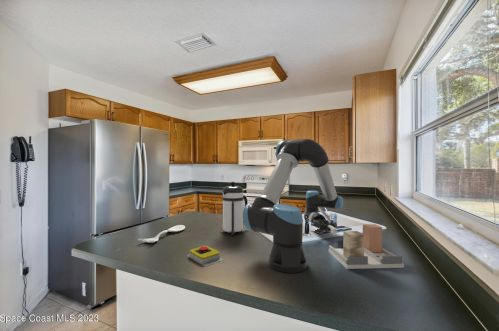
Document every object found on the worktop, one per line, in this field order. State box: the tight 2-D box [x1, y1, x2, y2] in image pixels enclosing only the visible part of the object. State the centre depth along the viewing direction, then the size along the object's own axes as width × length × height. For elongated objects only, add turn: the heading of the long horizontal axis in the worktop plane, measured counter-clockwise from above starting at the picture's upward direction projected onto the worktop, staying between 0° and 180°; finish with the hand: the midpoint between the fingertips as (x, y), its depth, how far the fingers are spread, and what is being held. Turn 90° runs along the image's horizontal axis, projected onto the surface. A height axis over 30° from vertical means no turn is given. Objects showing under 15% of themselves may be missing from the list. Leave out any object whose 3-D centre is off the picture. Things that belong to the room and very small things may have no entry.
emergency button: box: [187, 245, 224, 267], centre depth 97 cm, size 9×4×15 cm
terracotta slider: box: [362, 223, 383, 252], centre depth 102 cm, size 6×5×11 cm
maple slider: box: [342, 230, 364, 258], centre depth 91 cm, size 6×5×11 cm
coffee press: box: [219, 181, 249, 237], centre depth 136 cm, size 17×16×30 cm
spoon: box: [137, 224, 186, 244], centre depth 127 cm, size 9×32×4 cm, turn 163°
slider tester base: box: [328, 245, 405, 270], centre depth 97 cm, size 23×17×4 cm
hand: (334, 231), depth 109 cm, fingers closed
